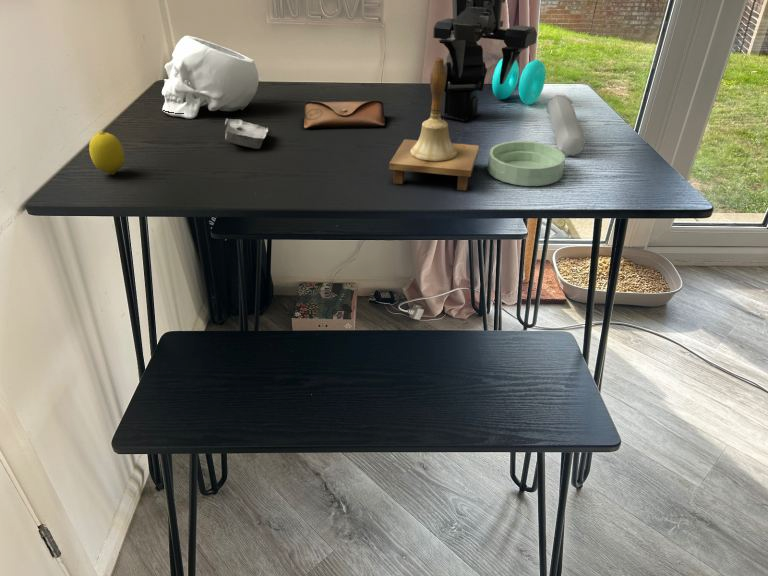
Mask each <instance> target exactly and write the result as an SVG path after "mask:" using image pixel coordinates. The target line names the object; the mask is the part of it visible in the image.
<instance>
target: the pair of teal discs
mask: <svg viewBox="0 0 768 576" xmlns="http://www.w3.org/2000/svg"><path fill="white" fill-rule="evenodd" d="M502 60H503V57H502V58H501V59H500V60H499V61H498V63H497V64H496V67H495V69H494V71H493V75H492V81H491V83H492V85H491V87H492V93H493V95H494V96H495V98H496V99H498V100H506V99H508V98H510V97H511V96H512V94H513V93H514V91H515V90H516V88H517V86H518V96H519V99H520V100H521V102H522V103H523V104H525V105H533V104H534V103H536V102H537V101H538V100H539V98H540V96H541V95H542V92H543V90H544V87H545V82H546V66H545V64H544V63H543V62H542V61H541V60H539V59H534V60H531V61H530V62H528V63H527V64H526V65H525V67H524V68H523V70H522V73H521V74H520V66H519V63H518V61H517V59H516V60H515V62H514V64H513V66H512V68H511V70H510V72H509V74H508V76H507V78H506V80H505V82H504V83H503V84H500V73H501V67H502Z"/></svg>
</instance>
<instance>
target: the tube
mask: <svg viewBox="0 0 768 576" xmlns="http://www.w3.org/2000/svg"><path fill="white" fill-rule="evenodd" d="M546 113H547V114H548V117H549V120H550V121H549V122H550V124H551V129H552V132H553V135H554V140H555V142H556V143H555V144H556V148H557V149H559V150H560V151H562V152H563V154H564V155H565V157H577V155H578V154H580V153H581V152H582V151H583V150H584V146H585V142H586V138H585V135H584V132H583V130H582V127H581V125H580V121H579V120H578V116H577V115H576V112H575V109H574V106H573V100H572V99H570V98H569V97H568V96H567V95H564V94H555V95H554V96H553V97H552V98H551V99H550V100H549V101H548V103H547V108H546Z"/></svg>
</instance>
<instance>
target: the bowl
mask: <svg viewBox="0 0 768 576" xmlns="http://www.w3.org/2000/svg"><path fill="white" fill-rule="evenodd" d="M487 160H488V161H487V172H488V174H489V175H490V176H492V177H493V178H495V179H496V180H499V181H501V182H503V183H506V184H511V185H515V186H522V187H523V186H525V187H539V186H547V185H551V184H554V183H556V182H558V181H559V180H561V178H563V173H564V167H565V161H566V156H565V155H564V154H563V152H562V151H560V150H559V149H558V147H555V146H551V145H549V144H546V143H541V142H537V141H528V140H515V141H513V140H512V141H506V142H505V141H504V142H501V143H498V144H496V145H494V146H492V147H491V148H490V150H489V152H488V159H487Z"/></svg>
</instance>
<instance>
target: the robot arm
mask: <svg viewBox="0 0 768 576" xmlns="http://www.w3.org/2000/svg"><path fill="white" fill-rule="evenodd" d="M451 2H452V18H449V17H448V18H445V19H442V20H439V21H438V20H437V21H436V22H435V24H434V25H433V30H432V31H433V33H432V38H433V39H439V40H438V42H439V43H440V44H442V45H444V46H445V48H446V49H447V50H448V54H447V56H446V62H444V66H445V71H446V83H445V88H444V91H443V93H445V96H444V112H443V113H441V114H440V117H441V119H446V120H447V119H448V120H452V121H458V122H463V123H466V122H469V121H470V120H472V119H473V118H475V117H477V116H479V112H478V106H479V96H477V94H478V91H479V92H482V91H483V89H484V85H485V81H486V76H487V73H488V68H487V67H486V62H485V61H484V49H483V47H482V46H483V45H481V44H478V42H479V41H480V40H481V39H488V40H497V41H503V43H504V45H505V46H503V47H501V52H502V58H503V60H502V67H501V73H500V84H503V83H504V82H505V80H506V78H507V76H508V74H509V72H510V70H511V68H512V66H513V64H514V62H515V60H516V61H517V59H518V58H519V56H520V54H521V52H522V51H524V50H526V49H528V48H529V47H530V46H532V45H535V44H537V37H538V32H537V29H536V28H535V26H530V25H529V26H527V25H518V24H516V25H514V26H510V27H508V28H502V27H504V20H502V10H503V4H504V3H506V0H451Z"/></svg>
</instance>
